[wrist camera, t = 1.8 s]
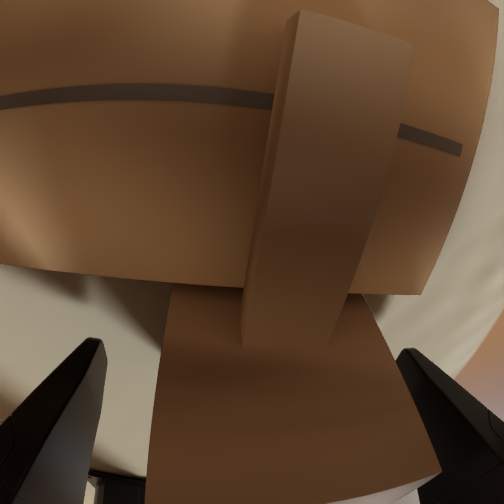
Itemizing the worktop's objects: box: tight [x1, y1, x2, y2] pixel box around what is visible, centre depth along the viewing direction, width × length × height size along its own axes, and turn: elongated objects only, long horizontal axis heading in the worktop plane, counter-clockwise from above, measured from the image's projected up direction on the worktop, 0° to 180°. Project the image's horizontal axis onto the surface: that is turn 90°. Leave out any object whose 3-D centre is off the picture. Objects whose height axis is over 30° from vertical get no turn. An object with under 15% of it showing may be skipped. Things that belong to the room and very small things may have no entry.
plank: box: [0, 0, 499, 295], centre depth 5 cm, size 8×20×1 cm, turn 82°
